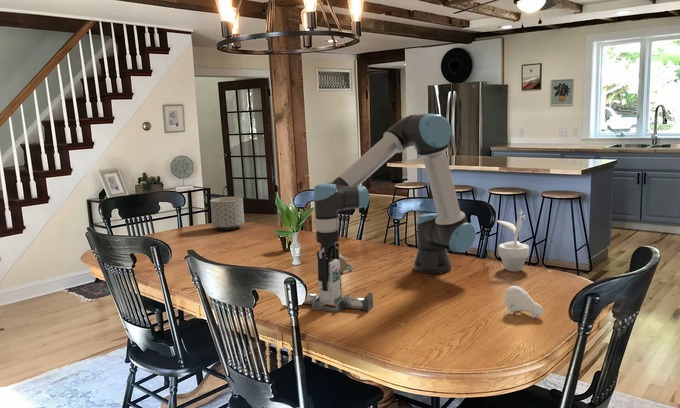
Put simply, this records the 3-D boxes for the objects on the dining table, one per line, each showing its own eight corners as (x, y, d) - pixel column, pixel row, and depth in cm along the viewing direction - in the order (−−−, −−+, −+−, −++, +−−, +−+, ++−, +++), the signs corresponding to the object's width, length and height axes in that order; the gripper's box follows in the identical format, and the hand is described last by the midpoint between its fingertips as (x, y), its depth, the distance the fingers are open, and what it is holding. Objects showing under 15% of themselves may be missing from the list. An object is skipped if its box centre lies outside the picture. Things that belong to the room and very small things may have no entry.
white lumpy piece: (513, 281, 172) (549, 293, 164) (511, 306, 174) (546, 318, 166) (503, 286, 168) (538, 298, 160) (500, 311, 170) (535, 324, 162)
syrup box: (333, 305, 180) (331, 263, 177) (319, 302, 183) (316, 261, 180) (342, 299, 184) (340, 259, 182) (328, 297, 187) (325, 257, 185)
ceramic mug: (331, 275, 219) (330, 257, 218) (325, 270, 227) (325, 252, 226) (355, 272, 222) (355, 254, 221) (349, 267, 230) (349, 249, 229)
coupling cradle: (375, 304, 183) (374, 290, 182) (365, 314, 174) (365, 300, 173) (299, 297, 193) (299, 284, 193) (287, 307, 185) (286, 293, 184)
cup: (298, 251, 258) (294, 231, 257) (280, 254, 258) (275, 234, 257) (299, 247, 267) (296, 228, 266) (282, 250, 267) (278, 231, 266)
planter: (207, 232, 316) (205, 202, 313) (220, 225, 334) (217, 196, 331) (238, 232, 313) (236, 201, 310) (249, 225, 331) (247, 196, 328)
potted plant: (533, 268, 215) (534, 207, 211) (521, 275, 207) (521, 211, 203) (504, 263, 224) (504, 204, 219) (490, 270, 215) (490, 209, 211)
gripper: (328, 223, 190) (331, 286, 193) (304, 236, 172) (308, 304, 176) (347, 224, 187) (350, 288, 191) (326, 237, 169) (329, 306, 173)
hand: (330, 295), depth 183 cm, fingers closed on syrup box, 6 cm apart
